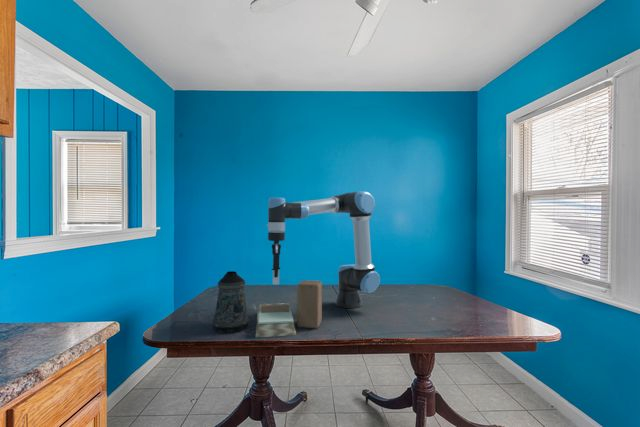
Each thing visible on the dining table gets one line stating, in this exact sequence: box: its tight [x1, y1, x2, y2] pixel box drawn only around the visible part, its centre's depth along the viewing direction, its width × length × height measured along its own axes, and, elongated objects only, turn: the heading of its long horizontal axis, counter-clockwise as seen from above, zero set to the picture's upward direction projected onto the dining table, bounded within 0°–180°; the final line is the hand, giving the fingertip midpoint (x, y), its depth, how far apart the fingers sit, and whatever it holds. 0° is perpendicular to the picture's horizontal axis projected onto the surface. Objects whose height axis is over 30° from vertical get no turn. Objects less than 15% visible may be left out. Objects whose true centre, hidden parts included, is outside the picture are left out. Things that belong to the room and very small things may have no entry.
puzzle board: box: [255, 302, 297, 338], centre depth 147 cm, size 17×32×5 cm, turn 10°
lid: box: [258, 303, 295, 324], centre depth 139 cm, size 15×15×4 cm
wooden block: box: [296, 279, 323, 329], centre depth 146 cm, size 10×10×20 cm
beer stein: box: [211, 270, 251, 335], centre depth 143 cm, size 16×19×25 cm
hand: (275, 284), depth 140 cm, fingers closed
